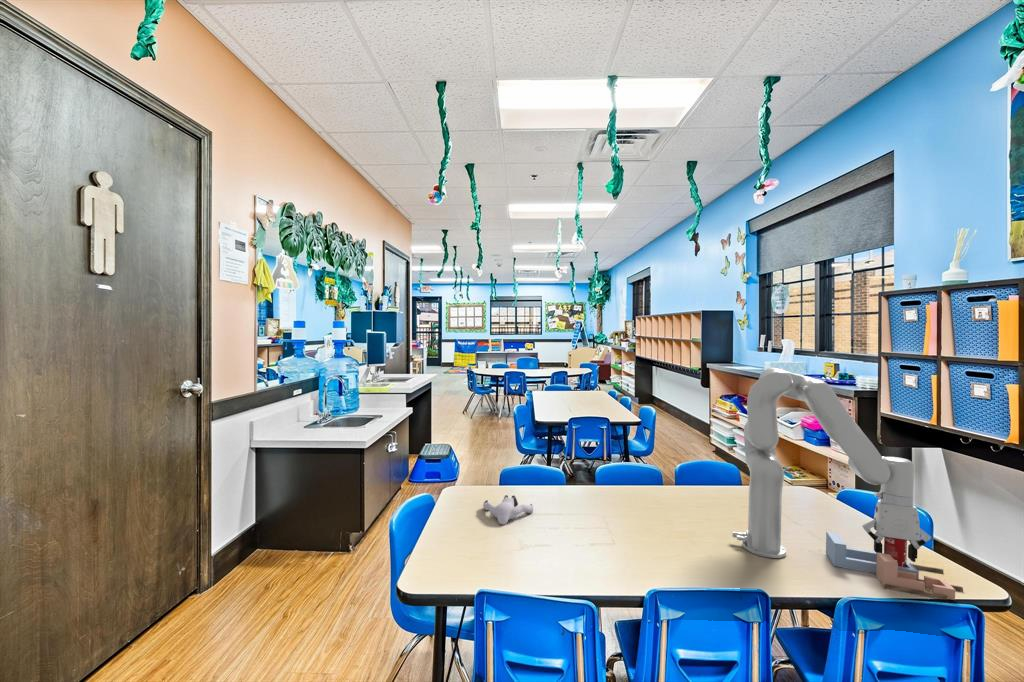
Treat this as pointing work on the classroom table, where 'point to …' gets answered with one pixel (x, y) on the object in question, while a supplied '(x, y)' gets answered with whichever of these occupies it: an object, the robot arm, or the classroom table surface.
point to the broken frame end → (940, 587)
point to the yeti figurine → (507, 509)
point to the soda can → (896, 550)
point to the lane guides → (923, 581)
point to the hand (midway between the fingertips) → (895, 556)
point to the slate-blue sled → (855, 556)
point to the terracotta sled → (896, 574)
